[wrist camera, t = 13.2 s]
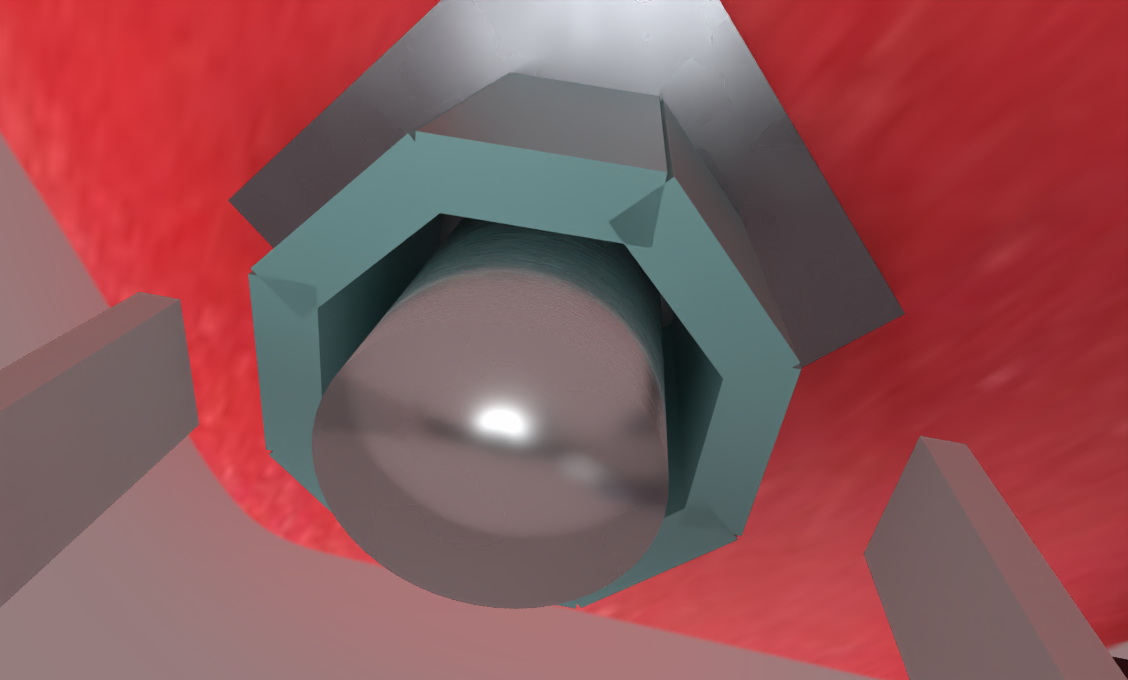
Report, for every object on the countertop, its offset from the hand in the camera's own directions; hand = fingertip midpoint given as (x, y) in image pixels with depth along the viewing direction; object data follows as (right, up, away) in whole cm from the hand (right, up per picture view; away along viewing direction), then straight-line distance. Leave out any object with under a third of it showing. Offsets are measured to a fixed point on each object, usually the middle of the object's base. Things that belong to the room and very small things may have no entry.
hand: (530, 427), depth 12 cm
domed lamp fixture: (+1, +5, +8) cm, 9 cm away
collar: (0, +4, +7) cm, 8 cm away
